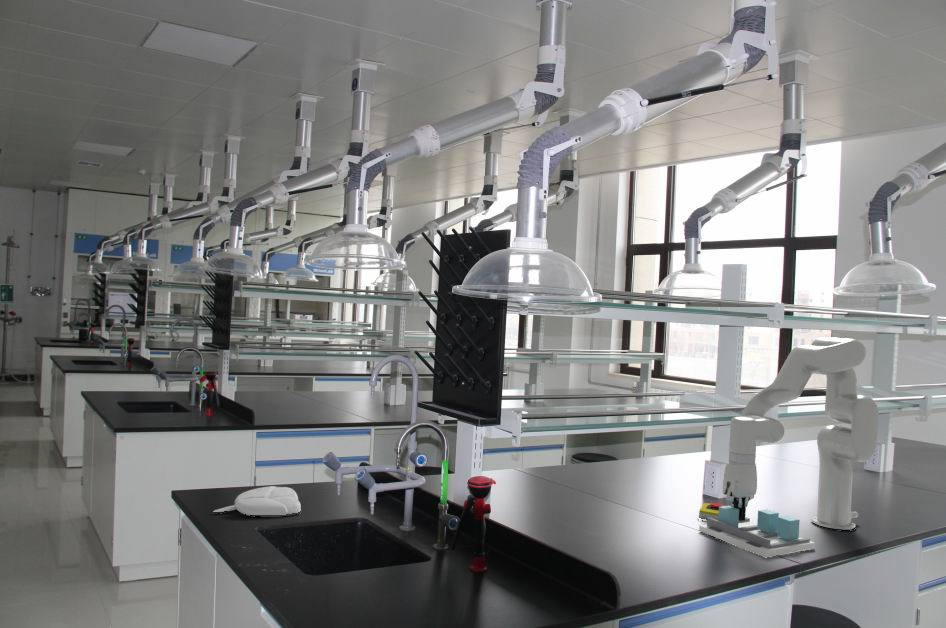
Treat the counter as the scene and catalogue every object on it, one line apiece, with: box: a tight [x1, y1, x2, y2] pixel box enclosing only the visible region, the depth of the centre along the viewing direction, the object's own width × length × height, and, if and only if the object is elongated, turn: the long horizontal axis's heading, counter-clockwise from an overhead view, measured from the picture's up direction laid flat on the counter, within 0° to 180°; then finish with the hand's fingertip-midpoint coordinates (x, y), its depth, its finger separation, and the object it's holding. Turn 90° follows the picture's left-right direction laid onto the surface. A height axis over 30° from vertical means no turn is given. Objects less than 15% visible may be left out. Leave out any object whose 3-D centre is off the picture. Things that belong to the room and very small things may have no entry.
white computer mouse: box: [212, 485, 302, 516], centre depth 216 cm, size 7×17×25 cm
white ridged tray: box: [698, 516, 816, 558], centre depth 209 cm, size 20×24×4 cm
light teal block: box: [757, 508, 780, 533], centre depth 211 cm, size 4×4×6 cm
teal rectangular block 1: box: [718, 505, 739, 528], centre depth 214 cm, size 4×4×6 cm
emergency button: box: [698, 502, 724, 520], centre depth 232 cm, size 9×4×15 cm
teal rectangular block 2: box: [777, 515, 800, 540], centre depth 205 cm, size 4×4×6 cm
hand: (739, 519), depth 216 cm, fingers closed
